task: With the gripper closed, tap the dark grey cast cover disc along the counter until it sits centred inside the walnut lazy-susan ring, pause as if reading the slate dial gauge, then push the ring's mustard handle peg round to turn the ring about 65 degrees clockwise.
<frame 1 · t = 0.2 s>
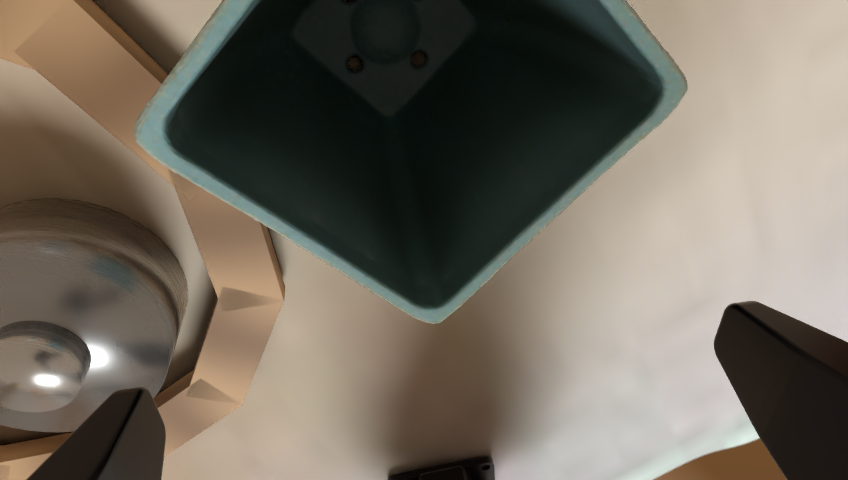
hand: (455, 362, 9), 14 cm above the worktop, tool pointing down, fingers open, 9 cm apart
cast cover: (80, 285, 23), on the worktop
flower pot: (384, 21, 19), on the worktop
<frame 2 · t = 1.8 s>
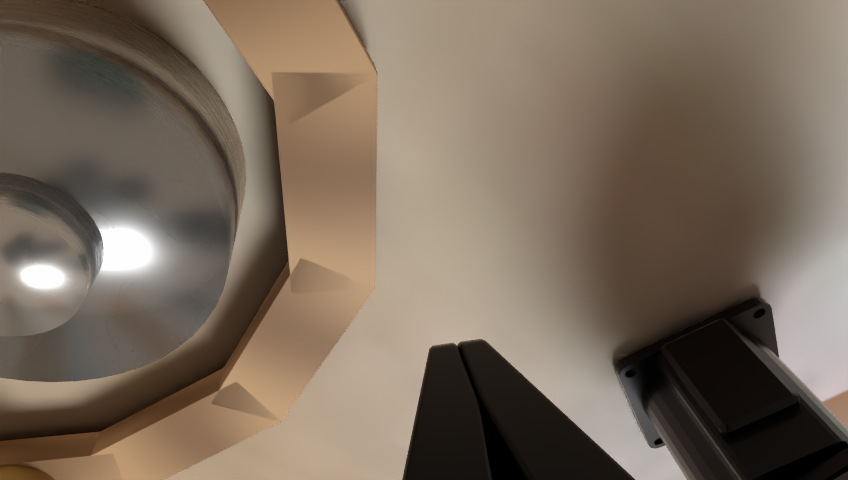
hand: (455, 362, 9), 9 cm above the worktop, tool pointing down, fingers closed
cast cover: (84, 161, 15), on the worktop
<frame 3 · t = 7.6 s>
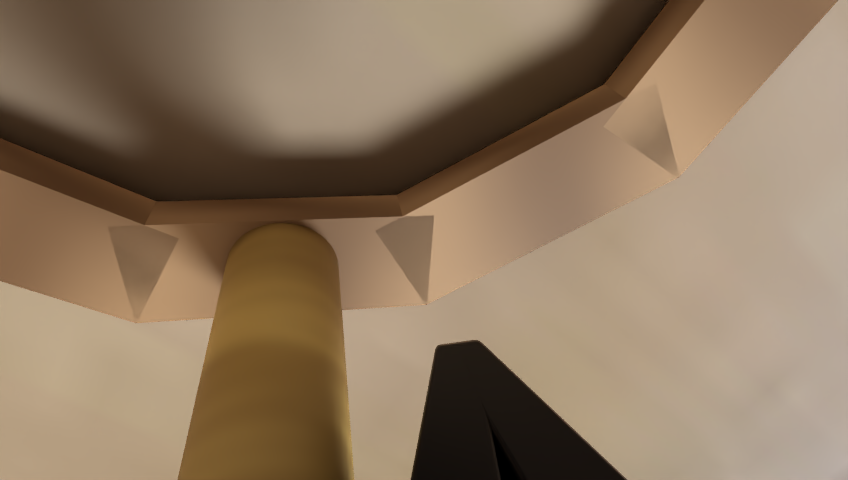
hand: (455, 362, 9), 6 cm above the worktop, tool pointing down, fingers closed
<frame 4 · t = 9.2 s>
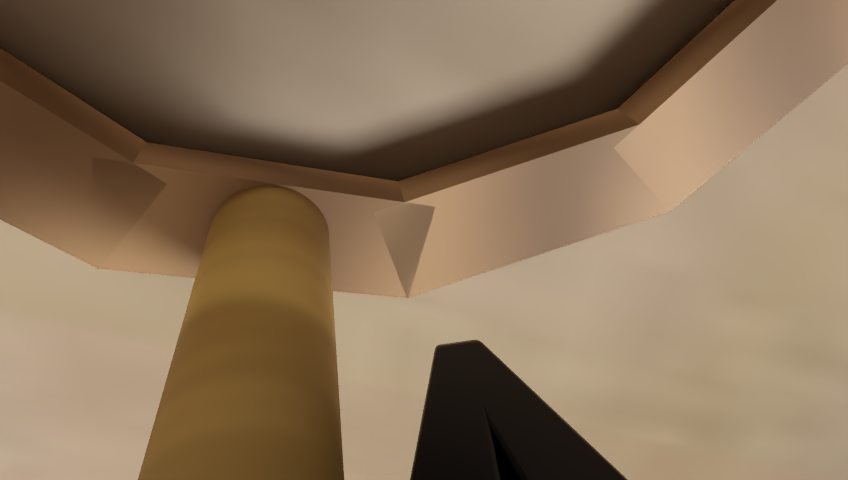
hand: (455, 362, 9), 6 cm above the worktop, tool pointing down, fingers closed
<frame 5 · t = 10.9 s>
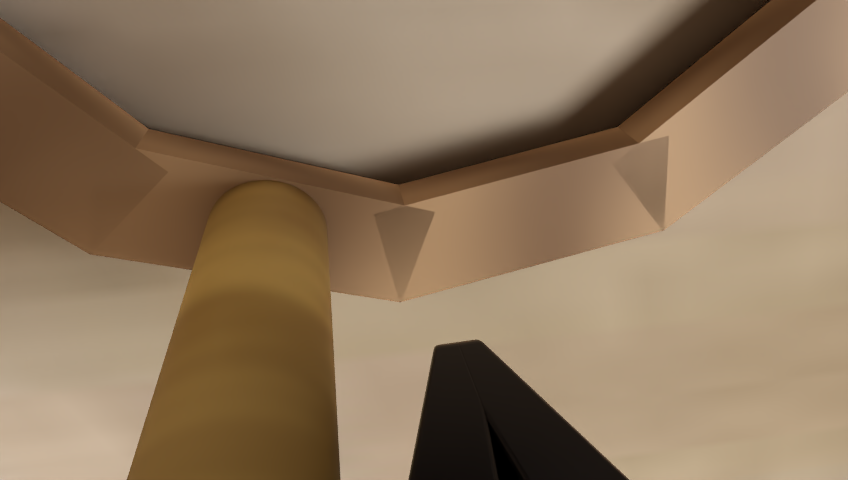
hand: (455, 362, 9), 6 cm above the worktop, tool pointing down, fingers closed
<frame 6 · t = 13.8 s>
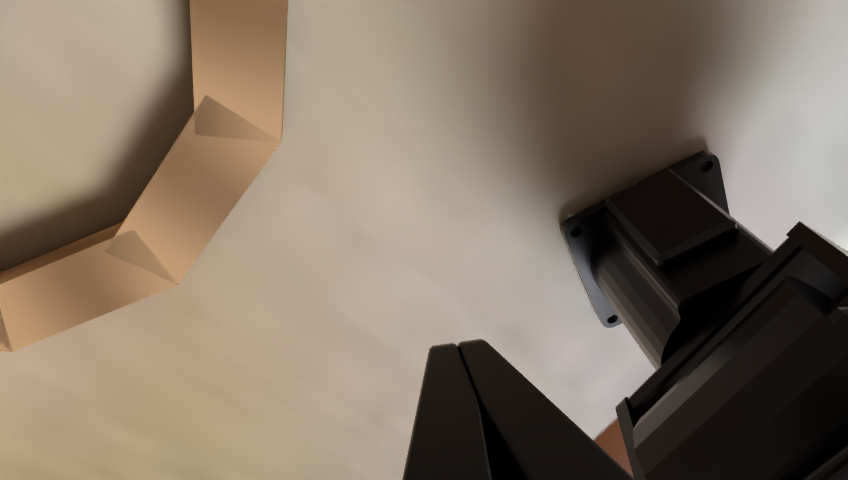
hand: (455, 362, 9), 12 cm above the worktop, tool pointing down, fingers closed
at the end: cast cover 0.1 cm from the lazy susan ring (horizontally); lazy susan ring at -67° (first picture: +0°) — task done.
